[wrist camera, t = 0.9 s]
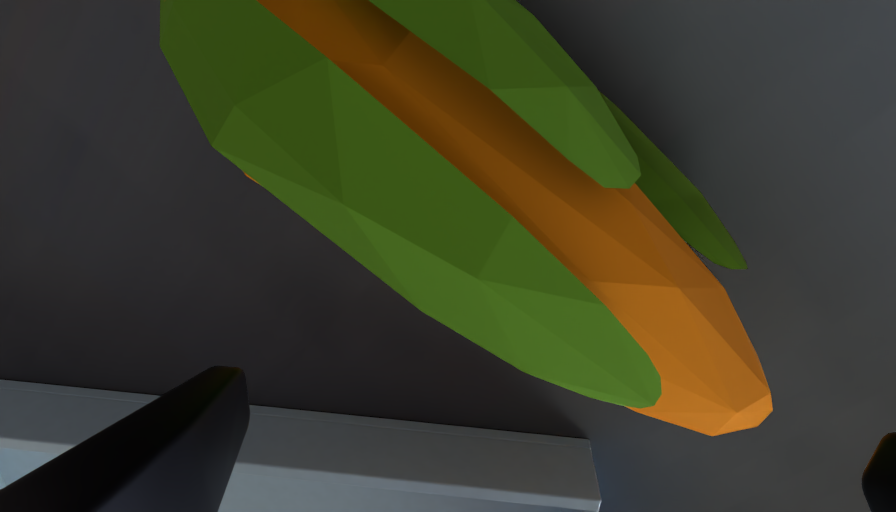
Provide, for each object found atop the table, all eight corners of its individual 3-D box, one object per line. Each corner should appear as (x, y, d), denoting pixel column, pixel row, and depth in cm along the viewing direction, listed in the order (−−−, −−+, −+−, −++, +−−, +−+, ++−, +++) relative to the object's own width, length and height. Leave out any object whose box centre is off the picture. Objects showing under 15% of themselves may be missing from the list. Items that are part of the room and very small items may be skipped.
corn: (145, -306, 7) (997, 459, 12) (324, -194, 14) (829, 272, 19) (0, 121, 11) (708, 591, 15) (199, 49, 17) (653, 393, 22)
